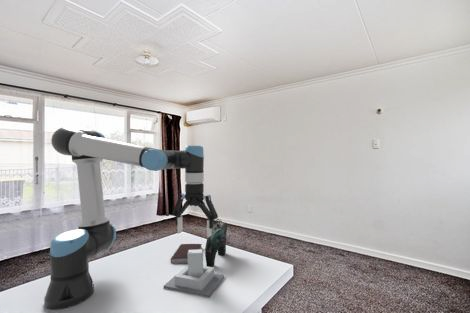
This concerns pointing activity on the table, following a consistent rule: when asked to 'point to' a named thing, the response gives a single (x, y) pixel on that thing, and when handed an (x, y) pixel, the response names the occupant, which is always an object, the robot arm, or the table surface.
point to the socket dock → (197, 292)
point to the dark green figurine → (216, 243)
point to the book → (184, 252)
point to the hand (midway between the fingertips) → (194, 234)
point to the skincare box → (195, 263)
